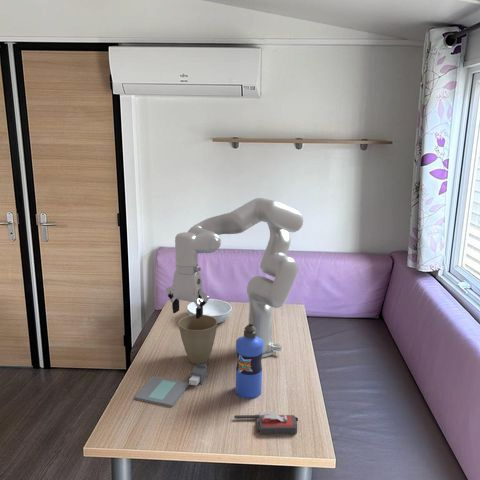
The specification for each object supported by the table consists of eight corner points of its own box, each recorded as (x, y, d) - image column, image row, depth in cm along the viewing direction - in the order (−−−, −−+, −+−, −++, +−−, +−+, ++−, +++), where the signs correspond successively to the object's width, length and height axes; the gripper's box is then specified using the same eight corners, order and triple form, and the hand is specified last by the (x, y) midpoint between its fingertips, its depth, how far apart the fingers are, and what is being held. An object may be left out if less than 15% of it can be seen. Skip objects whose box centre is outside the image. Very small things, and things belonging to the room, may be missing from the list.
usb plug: (198, 373, 173) (198, 362, 172) (208, 374, 172) (208, 364, 171) (187, 387, 164) (187, 376, 163) (198, 389, 163) (198, 378, 161)
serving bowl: (230, 330, 209) (231, 316, 207) (184, 329, 209) (184, 315, 207) (232, 311, 229) (232, 298, 227) (189, 310, 229) (189, 297, 227)
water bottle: (253, 402, 156) (255, 333, 149) (229, 393, 160) (231, 326, 154) (266, 389, 163) (269, 323, 157) (244, 381, 168) (245, 317, 162)
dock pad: (189, 384, 165) (189, 382, 165) (172, 407, 152) (172, 404, 152) (153, 377, 169) (153, 375, 169) (134, 399, 156) (134, 396, 156)
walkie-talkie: (296, 417, 149) (234, 418, 148) (297, 405, 148) (234, 406, 147) (301, 436, 140) (234, 436, 139) (301, 423, 139) (235, 423, 138)
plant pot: (213, 348, 191) (214, 312, 187) (220, 367, 177) (220, 328, 173) (177, 351, 188) (177, 315, 184) (180, 370, 174) (180, 331, 170)
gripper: (214, 269, 159) (214, 315, 163) (172, 262, 167) (173, 306, 171) (202, 275, 153) (203, 323, 157) (159, 267, 160) (161, 313, 164)
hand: (187, 314), depth 164 cm, fingers open, 9 cm apart
